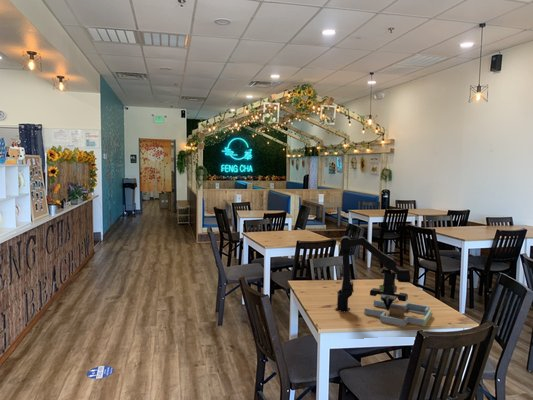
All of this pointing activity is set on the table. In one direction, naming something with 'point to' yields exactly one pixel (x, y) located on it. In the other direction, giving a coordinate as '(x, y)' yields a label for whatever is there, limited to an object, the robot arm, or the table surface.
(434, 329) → the table surface
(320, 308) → the table surface
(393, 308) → the block
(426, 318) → the grey zigzag track
